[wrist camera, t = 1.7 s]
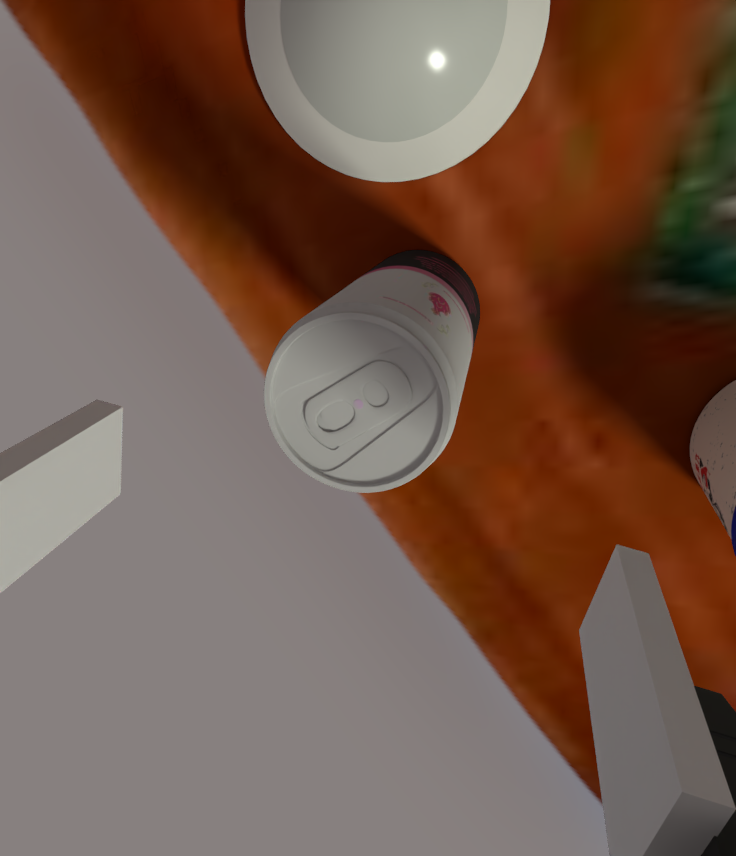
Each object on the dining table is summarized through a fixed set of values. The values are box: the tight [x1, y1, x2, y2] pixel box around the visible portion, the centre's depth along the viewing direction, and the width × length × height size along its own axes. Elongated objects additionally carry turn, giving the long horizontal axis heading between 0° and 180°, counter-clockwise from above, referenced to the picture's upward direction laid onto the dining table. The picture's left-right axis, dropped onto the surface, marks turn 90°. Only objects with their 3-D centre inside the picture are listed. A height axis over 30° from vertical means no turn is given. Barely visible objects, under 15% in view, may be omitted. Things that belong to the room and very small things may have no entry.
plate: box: [245, 0, 550, 182], centre depth 28 cm, size 14×14×1 cm
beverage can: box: [264, 250, 480, 493], centre depth 27 cm, size 6×7×15 cm
